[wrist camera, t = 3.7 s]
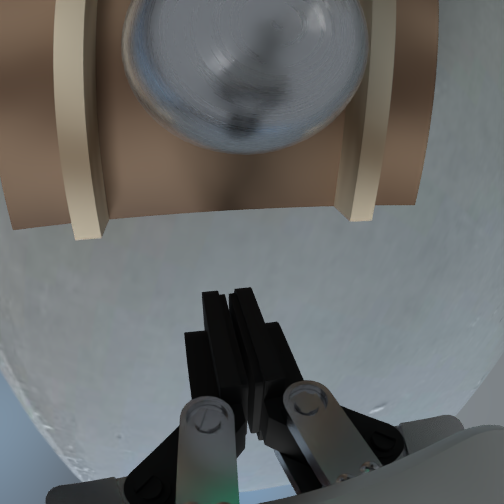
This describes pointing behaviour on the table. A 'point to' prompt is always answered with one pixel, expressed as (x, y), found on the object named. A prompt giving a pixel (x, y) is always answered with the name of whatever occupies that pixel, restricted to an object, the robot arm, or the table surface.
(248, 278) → the table surface
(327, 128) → the walnut board
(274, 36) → the steel ball
